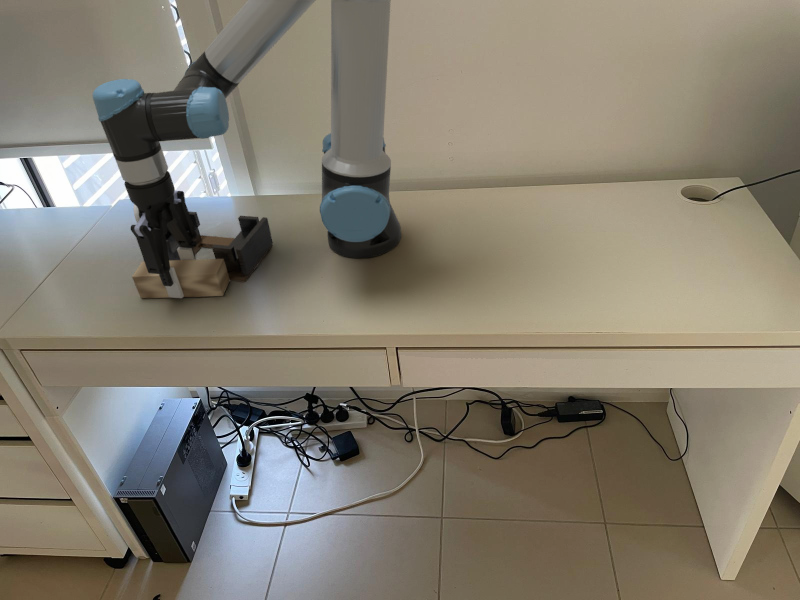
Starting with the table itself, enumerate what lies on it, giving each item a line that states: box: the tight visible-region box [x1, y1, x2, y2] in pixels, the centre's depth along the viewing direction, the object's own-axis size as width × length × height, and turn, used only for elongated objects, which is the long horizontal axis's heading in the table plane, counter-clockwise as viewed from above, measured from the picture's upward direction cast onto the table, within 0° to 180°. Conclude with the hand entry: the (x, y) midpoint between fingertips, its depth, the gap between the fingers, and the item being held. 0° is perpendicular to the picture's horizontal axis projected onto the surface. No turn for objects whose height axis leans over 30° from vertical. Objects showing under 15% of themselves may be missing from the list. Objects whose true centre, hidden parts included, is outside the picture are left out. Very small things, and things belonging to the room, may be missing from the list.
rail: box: [131, 258, 231, 299], centre depth 121 cm, size 16×5×5 cm, turn 87°
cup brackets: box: [154, 211, 274, 283], centre depth 129 cm, size 22×13×7 cm, turn 75°
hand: (185, 286), depth 122 cm, fingers closed on rail, 6 cm apart
